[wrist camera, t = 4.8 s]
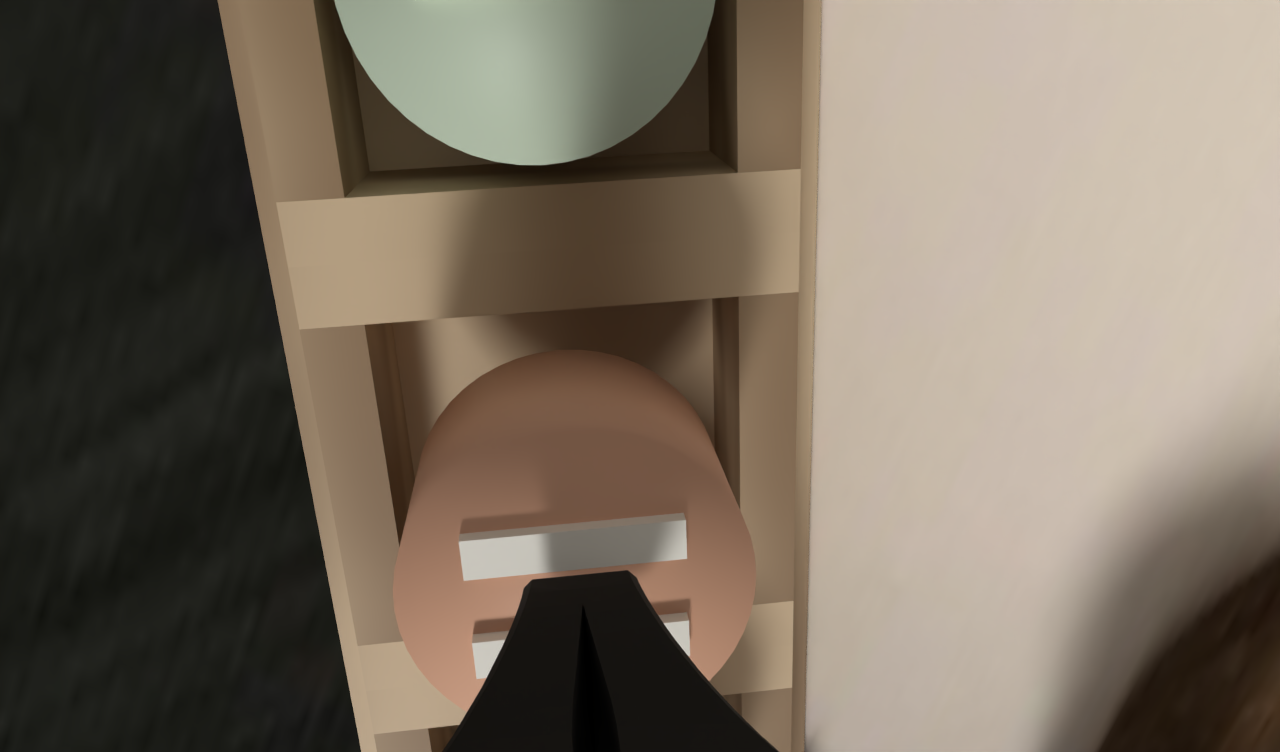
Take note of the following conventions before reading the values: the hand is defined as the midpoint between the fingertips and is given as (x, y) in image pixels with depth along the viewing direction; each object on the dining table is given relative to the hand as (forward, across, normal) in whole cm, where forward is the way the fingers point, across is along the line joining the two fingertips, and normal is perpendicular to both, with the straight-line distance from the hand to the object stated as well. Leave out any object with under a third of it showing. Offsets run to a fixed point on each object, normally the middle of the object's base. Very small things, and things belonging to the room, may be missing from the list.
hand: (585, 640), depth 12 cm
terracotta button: (+4, 0, 0) cm, 4 cm away
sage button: (+6, 0, -8) cm, 10 cm away
